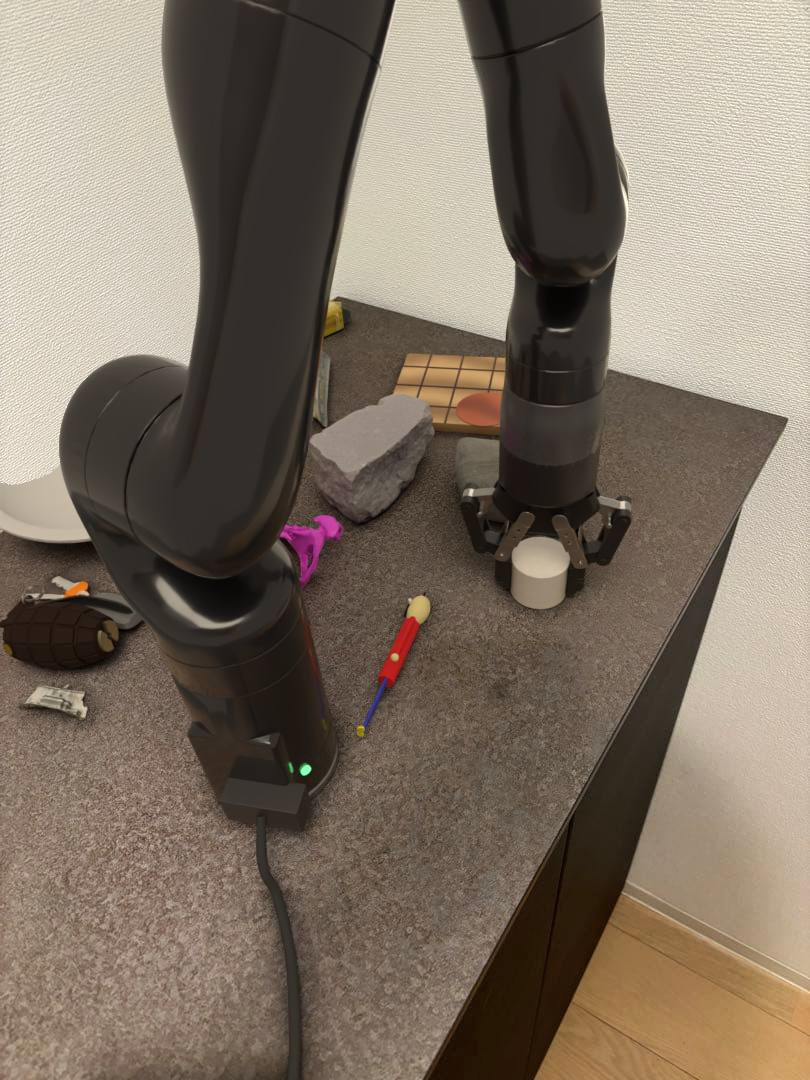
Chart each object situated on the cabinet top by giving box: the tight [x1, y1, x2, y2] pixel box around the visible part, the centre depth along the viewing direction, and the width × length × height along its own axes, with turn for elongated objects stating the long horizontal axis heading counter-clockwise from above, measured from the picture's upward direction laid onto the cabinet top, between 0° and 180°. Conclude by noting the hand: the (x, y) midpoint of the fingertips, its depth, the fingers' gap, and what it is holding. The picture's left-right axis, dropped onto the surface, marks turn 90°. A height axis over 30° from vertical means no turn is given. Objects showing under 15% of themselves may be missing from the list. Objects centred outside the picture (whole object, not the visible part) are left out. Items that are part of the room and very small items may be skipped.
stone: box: [454, 436, 506, 523], centre depth 78 cm, size 9×9×10 cm
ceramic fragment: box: [313, 349, 331, 428], centre depth 94 cm, size 14×5×4 cm, turn 1°
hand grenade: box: [0, 583, 133, 670], centre depth 67 cm, size 5×7×11 cm
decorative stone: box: [308, 393, 436, 524], centre depth 81 cm, size 15×7×10 cm
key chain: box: [21, 575, 143, 630], centre depth 72 cm, size 13×4×2 cm, turn 65°
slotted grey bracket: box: [16, 683, 88, 721], centre depth 64 cm, size 6×2×3 cm
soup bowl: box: [0, 466, 92, 544], centre depth 82 cm, size 24×24×7 cm
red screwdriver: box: [356, 591, 431, 738], centre depth 65 cm, size 3×2×15 cm
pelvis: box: [279, 514, 344, 590], centre depth 71 cm, size 12×10×7 cm
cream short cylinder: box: [509, 536, 570, 610], centre depth 69 cm, size 5×5×4 cm
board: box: [392, 352, 505, 436], centre depth 93 cm, size 14×14×1 cm
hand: (538, 584), depth 70 cm, fingers closed on cream short cylinder, 5 cm apart
